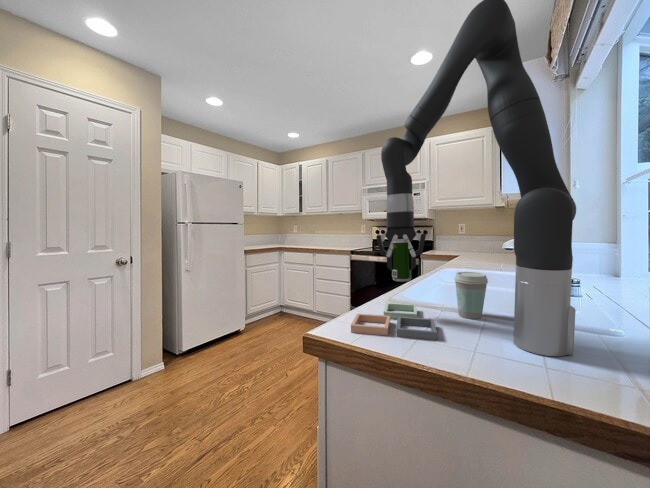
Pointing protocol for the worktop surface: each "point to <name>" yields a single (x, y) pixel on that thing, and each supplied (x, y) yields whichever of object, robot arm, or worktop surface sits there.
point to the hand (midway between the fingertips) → (401, 269)
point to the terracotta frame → (371, 329)
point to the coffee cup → (470, 293)
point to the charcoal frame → (413, 332)
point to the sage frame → (400, 307)
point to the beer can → (401, 261)
